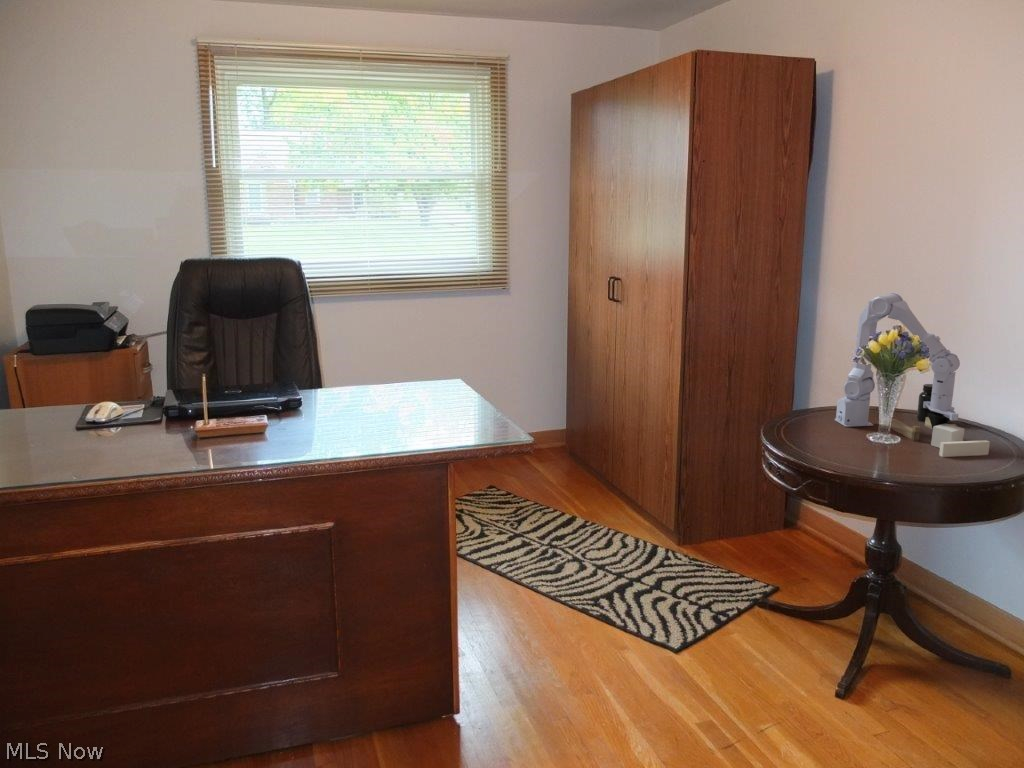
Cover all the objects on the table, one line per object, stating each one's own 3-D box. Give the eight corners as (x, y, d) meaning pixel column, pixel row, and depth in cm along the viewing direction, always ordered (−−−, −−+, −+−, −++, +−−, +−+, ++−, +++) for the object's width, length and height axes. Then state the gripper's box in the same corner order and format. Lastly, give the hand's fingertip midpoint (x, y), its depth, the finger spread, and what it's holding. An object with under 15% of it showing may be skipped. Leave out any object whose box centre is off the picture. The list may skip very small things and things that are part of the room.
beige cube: (949, 451, 234) (952, 431, 233) (930, 445, 239) (933, 426, 238) (962, 447, 237) (964, 428, 235) (943, 441, 242) (945, 423, 240)
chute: (913, 440, 244) (915, 427, 243) (889, 427, 257) (890, 414, 256) (955, 439, 245) (957, 425, 244) (929, 425, 258) (930, 412, 257)
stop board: (942, 456, 229) (943, 443, 228) (939, 455, 231) (940, 442, 230) (988, 454, 230) (989, 441, 229) (984, 453, 232) (986, 440, 231)
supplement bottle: (940, 419, 265) (944, 384, 262) (938, 424, 260) (942, 389, 257) (917, 416, 269) (921, 382, 266) (915, 421, 263) (919, 386, 260)
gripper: (970, 399, 233) (964, 443, 236) (940, 387, 247) (935, 428, 250) (947, 400, 232) (942, 444, 236) (918, 388, 246) (914, 429, 250)
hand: (937, 436), depth 243 cm, fingers closed
